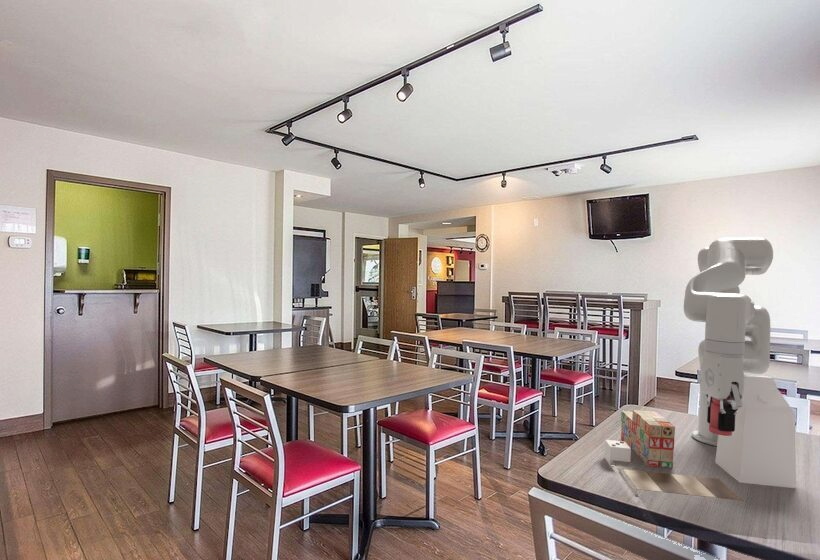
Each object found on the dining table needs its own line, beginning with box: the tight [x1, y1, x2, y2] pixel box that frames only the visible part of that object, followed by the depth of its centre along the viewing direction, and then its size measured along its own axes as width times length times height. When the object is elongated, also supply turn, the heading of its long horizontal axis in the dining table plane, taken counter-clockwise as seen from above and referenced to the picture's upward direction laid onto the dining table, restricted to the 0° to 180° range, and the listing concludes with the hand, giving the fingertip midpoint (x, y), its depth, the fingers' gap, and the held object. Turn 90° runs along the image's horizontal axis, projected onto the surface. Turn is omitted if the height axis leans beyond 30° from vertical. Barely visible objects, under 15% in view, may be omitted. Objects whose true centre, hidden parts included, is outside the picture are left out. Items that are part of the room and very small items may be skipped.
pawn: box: [709, 397, 732, 436], centre depth 102 cm, size 4×4×9 cm
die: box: [604, 439, 632, 467], centre depth 118 cm, size 5×5×5 cm
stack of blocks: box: [620, 409, 676, 468], centre depth 123 cm, size 21×6×12 cm, turn 172°
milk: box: [714, 374, 797, 489], centre depth 110 cm, size 12×12×26 cm
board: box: [618, 468, 744, 501], centre depth 103 cm, size 23×12×1 cm, turn 81°
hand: (720, 426), depth 102 cm, fingers closed on pawn, 4 cm apart
